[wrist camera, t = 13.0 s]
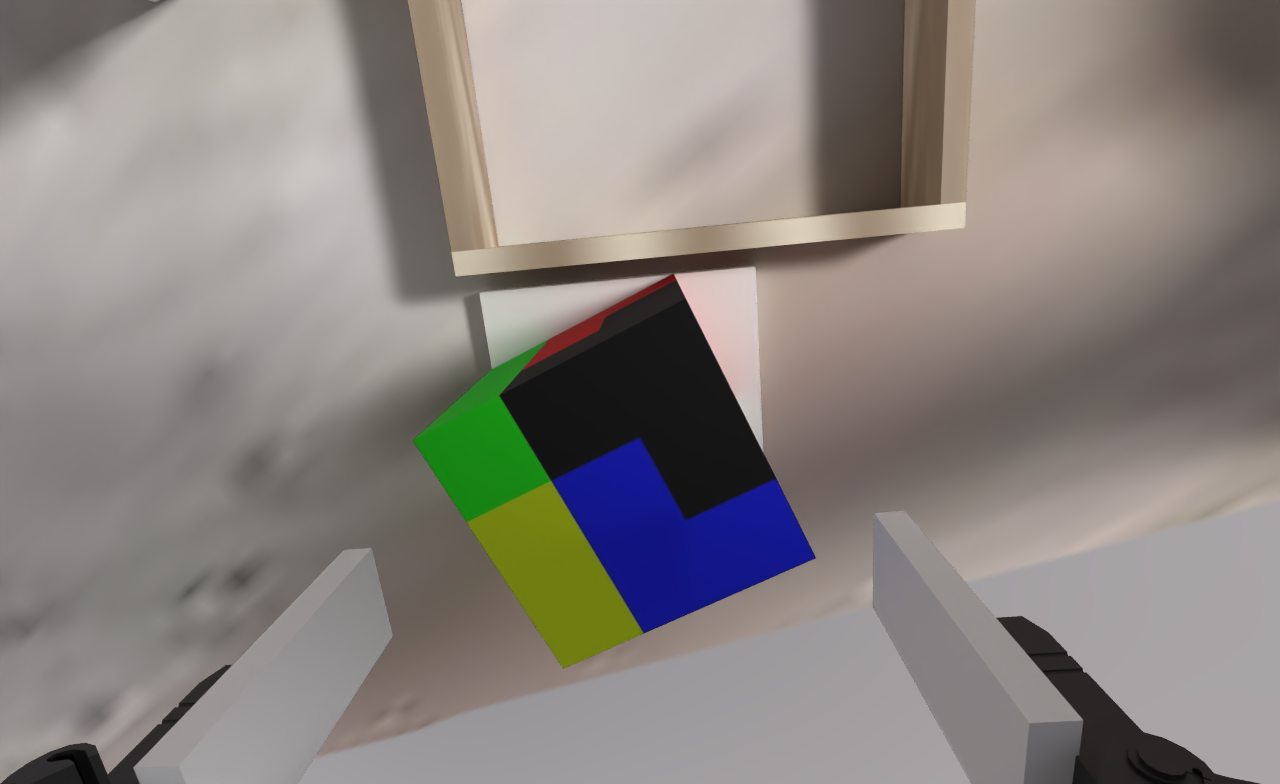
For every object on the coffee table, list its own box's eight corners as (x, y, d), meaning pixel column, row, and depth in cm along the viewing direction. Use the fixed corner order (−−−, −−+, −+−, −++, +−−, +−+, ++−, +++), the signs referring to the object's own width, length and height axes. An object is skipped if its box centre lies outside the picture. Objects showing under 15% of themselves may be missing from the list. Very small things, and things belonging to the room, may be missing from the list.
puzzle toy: (762, 452, 30) (816, 558, 21) (589, 533, 32) (563, 668, 22) (673, 273, 28) (685, 298, 18) (490, 369, 29) (412, 440, 20)
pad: (751, 265, 29) (755, 266, 28) (762, 511, 32) (766, 519, 31) (484, 290, 29) (479, 292, 28) (523, 529, 33) (519, 539, 32)
